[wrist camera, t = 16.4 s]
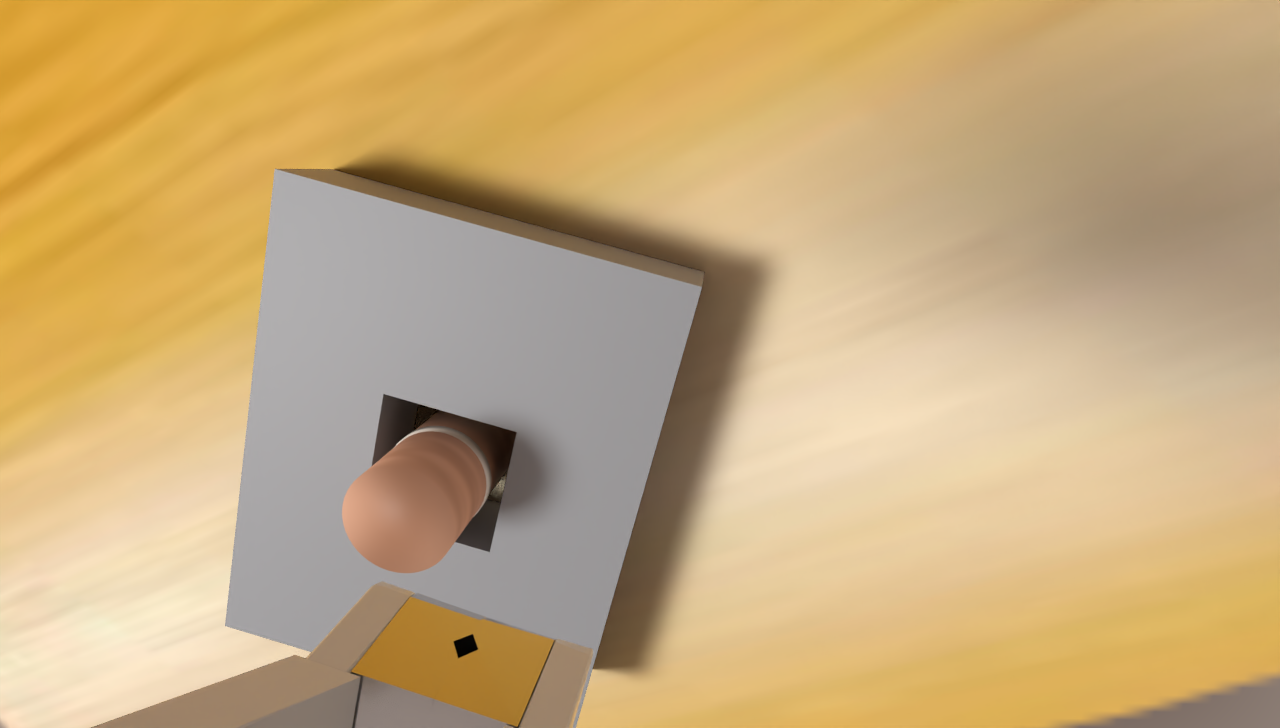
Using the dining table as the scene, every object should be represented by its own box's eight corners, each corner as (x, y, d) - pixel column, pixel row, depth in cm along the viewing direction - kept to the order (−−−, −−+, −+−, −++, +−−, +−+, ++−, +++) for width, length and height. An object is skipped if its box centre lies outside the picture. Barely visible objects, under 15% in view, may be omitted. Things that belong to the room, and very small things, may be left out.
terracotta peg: (528, 410, 32) (466, 485, 24) (508, 491, 33) (443, 588, 25) (440, 383, 32) (350, 450, 24) (423, 465, 33) (332, 554, 25)
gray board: (704, 272, 29) (701, 287, 25) (590, 669, 35) (574, 731, 31) (332, 169, 30) (275, 169, 26) (279, 576, 35) (225, 625, 31)
